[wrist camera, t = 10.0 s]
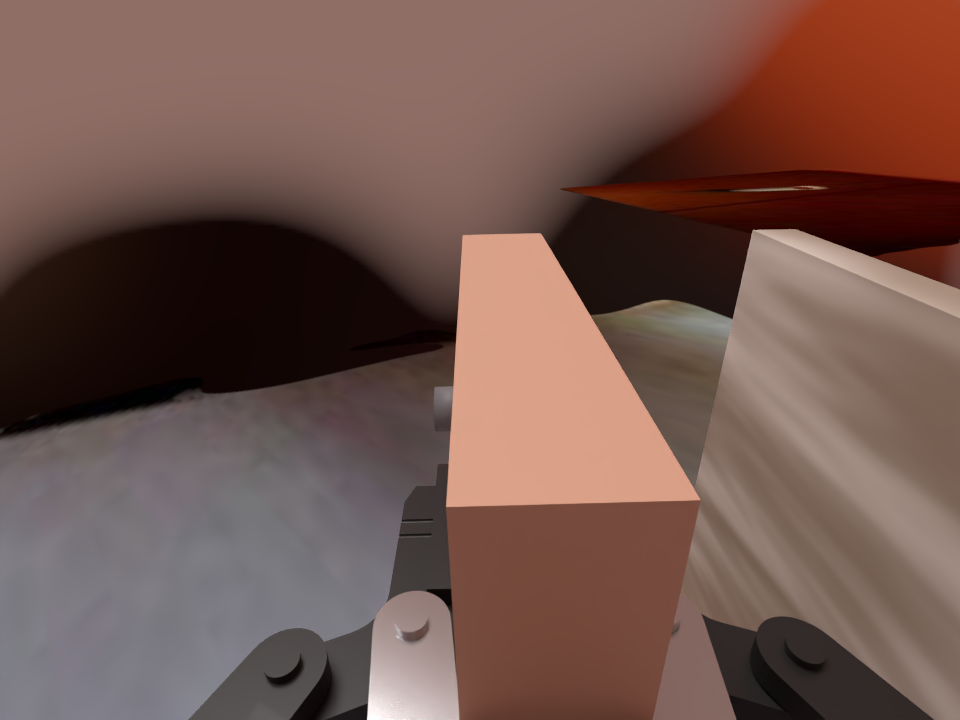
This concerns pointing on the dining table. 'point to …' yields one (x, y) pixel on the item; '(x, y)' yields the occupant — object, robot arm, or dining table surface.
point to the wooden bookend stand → (838, 463)
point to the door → (554, 502)
